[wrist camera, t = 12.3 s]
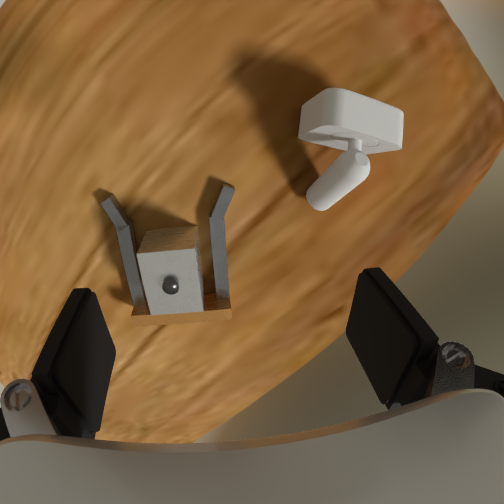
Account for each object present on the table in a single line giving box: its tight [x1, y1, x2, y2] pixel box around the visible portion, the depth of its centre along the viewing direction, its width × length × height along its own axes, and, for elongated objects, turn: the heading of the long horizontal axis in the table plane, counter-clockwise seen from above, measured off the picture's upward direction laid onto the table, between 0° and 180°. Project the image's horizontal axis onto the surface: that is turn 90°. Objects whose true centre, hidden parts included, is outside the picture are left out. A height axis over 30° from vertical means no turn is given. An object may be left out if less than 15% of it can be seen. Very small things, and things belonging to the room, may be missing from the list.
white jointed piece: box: [298, 88, 403, 211], centre depth 27 cm, size 8×10×10 cm
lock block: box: [137, 225, 204, 315], centre depth 30 cm, size 7×6×7 cm
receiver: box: [101, 183, 235, 326], centre depth 31 cm, size 15×14×4 cm
